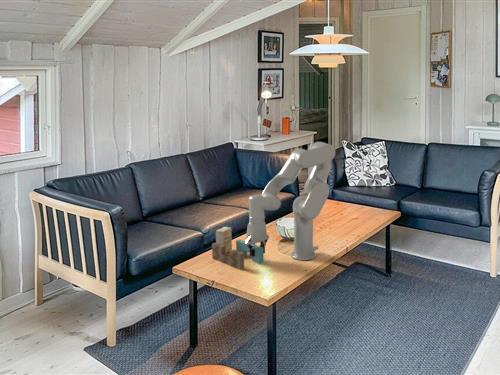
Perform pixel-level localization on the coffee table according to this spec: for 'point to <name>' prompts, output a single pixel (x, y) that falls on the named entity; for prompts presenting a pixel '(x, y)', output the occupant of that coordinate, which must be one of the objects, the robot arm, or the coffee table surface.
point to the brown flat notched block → (228, 256)
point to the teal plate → (244, 249)
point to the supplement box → (224, 238)
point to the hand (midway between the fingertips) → (257, 254)
